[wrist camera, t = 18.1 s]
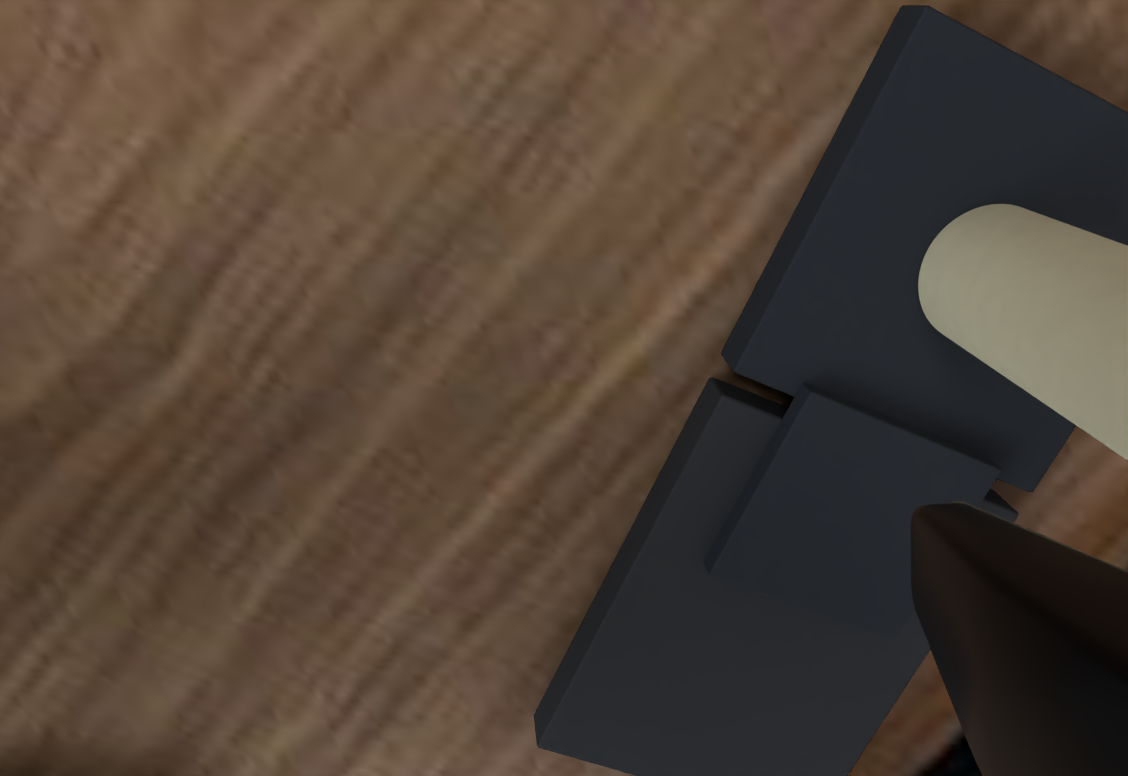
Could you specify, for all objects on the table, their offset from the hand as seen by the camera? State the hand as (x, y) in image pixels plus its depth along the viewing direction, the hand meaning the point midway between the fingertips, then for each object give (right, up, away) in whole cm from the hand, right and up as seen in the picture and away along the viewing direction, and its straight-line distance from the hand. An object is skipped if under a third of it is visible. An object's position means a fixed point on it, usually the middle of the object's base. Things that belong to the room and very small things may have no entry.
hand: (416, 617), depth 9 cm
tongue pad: (+9, +3, +14) cm, 17 cm away
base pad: (+6, -3, +16) cm, 17 cm away
